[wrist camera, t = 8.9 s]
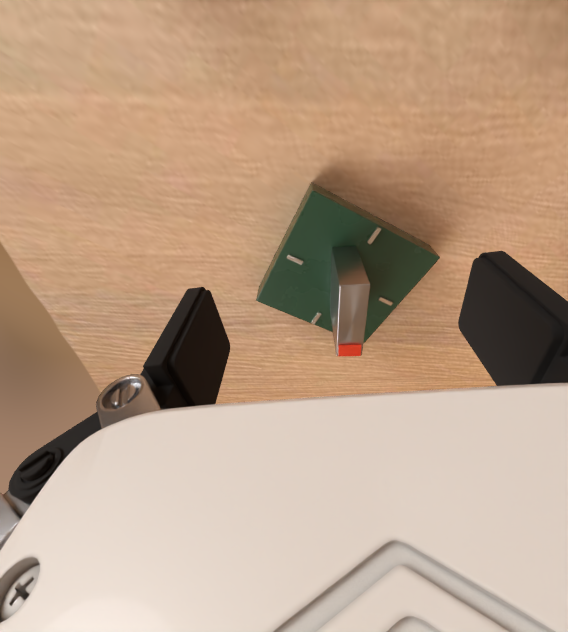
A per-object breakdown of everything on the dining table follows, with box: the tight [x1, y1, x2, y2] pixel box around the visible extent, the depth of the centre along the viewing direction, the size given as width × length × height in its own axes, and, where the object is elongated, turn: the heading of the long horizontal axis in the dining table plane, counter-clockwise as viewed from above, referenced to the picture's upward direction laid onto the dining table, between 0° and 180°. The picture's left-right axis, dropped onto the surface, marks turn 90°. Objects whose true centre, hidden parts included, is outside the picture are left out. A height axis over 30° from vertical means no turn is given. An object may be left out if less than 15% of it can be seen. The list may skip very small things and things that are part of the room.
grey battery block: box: [330, 246, 370, 356], centre depth 23 cm, size 6×2×6 cm, turn 4°
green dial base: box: [256, 182, 440, 344], centre depth 27 cm, size 12×11×3 cm
